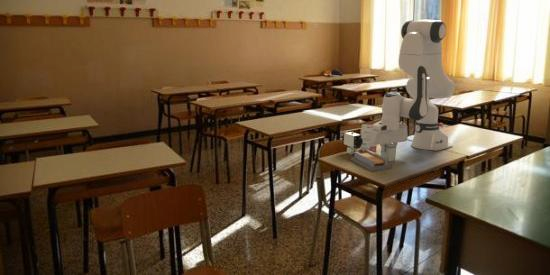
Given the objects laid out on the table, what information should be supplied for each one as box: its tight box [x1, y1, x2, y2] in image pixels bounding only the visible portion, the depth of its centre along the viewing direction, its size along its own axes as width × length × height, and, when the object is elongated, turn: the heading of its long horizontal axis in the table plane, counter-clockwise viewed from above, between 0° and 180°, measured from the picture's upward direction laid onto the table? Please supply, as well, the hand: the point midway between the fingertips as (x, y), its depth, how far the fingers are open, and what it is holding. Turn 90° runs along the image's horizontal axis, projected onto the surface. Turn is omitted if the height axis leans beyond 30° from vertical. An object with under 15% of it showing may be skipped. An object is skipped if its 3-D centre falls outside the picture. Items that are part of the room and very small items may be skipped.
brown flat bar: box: [361, 152, 384, 164], centre depth 203 cm, size 5×14×1 cm, turn 20°
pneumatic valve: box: [341, 131, 363, 155], centre depth 220 cm, size 6×12×12 cm, turn 31°
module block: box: [380, 143, 397, 162], centre depth 211 cm, size 4×7×8 cm, turn 20°
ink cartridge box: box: [360, 123, 378, 152], centre depth 226 cm, size 9×5×15 cm, turn 74°
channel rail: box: [350, 150, 392, 172], centre depth 203 cm, size 11×18×4 cm, turn 20°
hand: (388, 151), depth 211 cm, fingers closed on module block, 4 cm apart
